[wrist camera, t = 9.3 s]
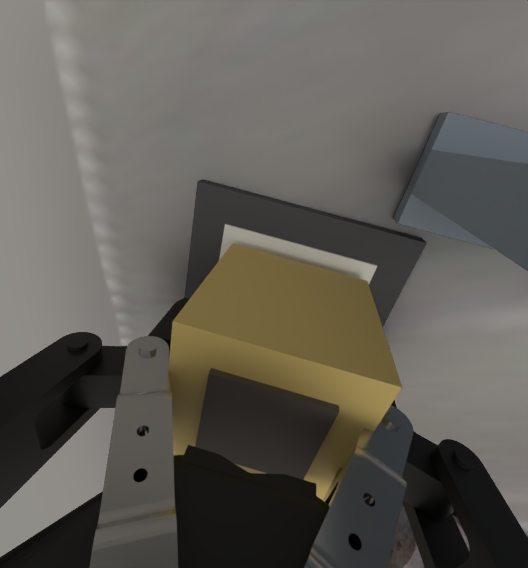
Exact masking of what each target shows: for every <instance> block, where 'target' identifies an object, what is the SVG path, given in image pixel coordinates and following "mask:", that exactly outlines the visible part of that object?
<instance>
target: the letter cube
mask: <svg viewBox="0 0 528 568" xmlns="http://www.w3.org/2000/svg"><path fill="white" fill-rule="evenodd" d="M168 370H169V377H170V390H171V393H172V423H173V455H184V453H185V451H186V448H187V446H188V445H191V446H194V447H197V448H201V449H204V450H207V451H211V452H214V453H217V454H220V455H221V456H223V457H225V458H226V459H228V460H229V461H231V462H233V463H234V464H236V465H237V466H239V467H241V468H242V469H244V470H245V471H247V472H249V473H263V474H286V475H289V476H293V477H296V478H299V479H303V480H306V481H309V482H312V483H316V496H317V497H319V498H320V499H322V500H323V498H324V497H325V495H326V493H327V491H328V489H329V486H330V484H331V482H332V480H333V478H334V476H335V474H336V473H337V471H338V469H339V468H340V467H341V468H343V467H344V465H345V463H346V462H347V460H348V458H349V456H350V454H351V451H352V449H353V447H354V445H355V443H356V441H357V439H358V437H359V435H360V433H361V432H362V430H363V429H364V428H366V429H369V430H372V431H375V429H376V427H377V426H378V424H379V423H380V421H381V420H382V418H383V417H384V415H385V414H386V412H387V410H388V409H389V407H390V406H391V404H392V403H393V401H394V400H395V398H396V397H397V395H398V394H399V392H400V390H401V389H402V385H401V382H400V379H399V376H398V373H397V370H396V367H395V364H394V361H393V358H392V355H391V351H390V348H389V345H388V342H387V339H386V336H385V333H384V330H383V327H382V324H381V321H380V318H379V315H378V312H377V309H376V306H375V303H374V300H373V297H372V294H371V291H370V288H369V284H368V281H366V280H363V279H359V278H355V277H352V276H348V275H345V274H341V273H337V272H334V271H330V270H326V269H323V268H319V267H316V266H312V265H308V264H305V263H301V262H297V261H294V260H290V259H287V258H283V257H279V256H276V255H272V254H269V253H265V252H261V251H258V250H254V249H250V248H247V247H243V246H240V245H236V244H232V245H231V246H230V247H229V248H228V250H227V251H226V252H225V254H224V255H223V256H222V258H221V259H220V260H219V262H218V263H217V264H216V265H215V267H214V268H213V269H212V271H211V272H210V273H209V275H208V276H207V277H206V278H205V280H204V281H203V282H202V284H201V285H200V286H199V288H198V289H197V290H196V291H195V293H194V294H193V295H192V297H191V298H190V299H189V301H188V302H187V303H186V304H185V306H184V307H183V308H182V310H181V311H180V312H179V314H178V315H177V316H176V318H175V319H174V320H173V323H172V334H171V345H170V355H169V366H168Z"/></svg>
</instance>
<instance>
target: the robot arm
mask: <svg viewBox="0 0 528 568" xmlns="http://www.w3.org/2000/svg"><path fill="white" fill-rule="evenodd" d="M188 301H189V299H188V298H184V299H182V300H180V301H178V302H176V303H175V304H174V305H173V306H172V308H171V309H170V311H168V312H167V314H166V315H165V316H164V317H163V318H162V320H161V321H160V322H159V323H158V324H157V326H156V327H155V328H154V329H153V330H152V332H151V333H150V334H149V335H148V336H144V337H140V338H137V339H135V340H133V341H132V342H130V343H129V345H128V346H117V347H116V346H102V341H101V339H100V338H99V337H98V336H97V335H95V334H92V333H88V332H77V333H72V334H69V335H66V336H64V337H62V338H60V339H59V340H57V341H56V342H54V343H53V344H51V345H50V346H48V347H46V348H45V349H43V350H42V351H40V352H39V353H37V354H35V355H34V356H32V357H31V358H29V359H28V360H26V361H24V362H23V363H21V364H20V365H18V366H17V367H15V368H14V369H12V370H10V371H9V372H7V373H6V374H4V375H3V376H1V377H0V508H1V507H2V506H3V505H4V504H5V503H6V502H7V501H8V500H9V499H10V498H11V497H12V496H13V495H14V494H15V493H16V492H17V491H18V490H19V489H20V488H21V487H22V486H23V485H24V484H25V483H26V482H27V481H28V480H29V479H30V478H31V477H32V476H33V475H34V474H35V473H36V472H37V471H38V470H39V469H40V468H41V467H42V466H43V465H44V464H45V463H46V462H47V461H48V460H49V459H50V458H51V457H52V456H53V455H54V454H55V453H56V452H57V451H58V450H59V449H60V448H61V447H62V446H63V445H64V444H65V443H66V442H67V441H68V440H69V439H70V438H71V437H72V436H73V435H74V434H75V433H76V432H77V431H78V430H79V429H80V428H81V427H82V426H83V425H84V424H85V423H86V422H87V421H88V420H89V419H90V418H91V417H92V416H93V415H94V414H95V413H96V412H97V411H98V410H99V409H100V408H115V414H114V421H113V428H112V434H111V441H110V448H109V454H108V461H107V468H106V474H105V481H104V488H103V491H102V492H101V493H99V494H98V495H96V496H95V497H93V498H92V499H90V500H88V501H87V502H85V503H84V504H82V505H81V506H79V507H78V508H76V509H75V510H73V511H71V512H70V513H68V514H67V515H65V516H64V517H62V518H61V519H59V520H58V521H56V522H54V523H53V524H51V525H50V526H48V527H47V528H45V529H44V530H42V531H41V532H39V533H37V534H36V535H34V536H33V537H31V538H30V539H28V540H27V541H25V542H23V543H22V544H20V545H19V546H17V547H16V548H14V549H12V550H11V551H9V552H8V553H6V554H5V555H3V556H2V557H0V568H387V567H388V563H389V558H390V554H391V550H392V546H393V541H394V537H395V533H396V529H397V524H398V520H399V516H400V512H401V508H402V503H403V505H404V508H405V511H406V514H407V517H408V520H409V523H410V526H411V529H412V532H413V535H414V538H415V541H416V544H417V547H418V550H419V553H420V555H421V558H422V561H423V564H424V567H425V568H528V537H527V536H526V534H525V533H524V531H523V529H522V528H521V526H520V524H519V523H518V521H517V519H516V518H515V516H514V515H513V513H512V511H511V510H510V508H509V506H508V505H507V503H506V501H505V500H504V498H503V496H502V495H501V493H500V492H499V490H498V488H497V487H496V485H495V483H494V482H493V480H492V478H491V477H490V475H489V474H488V472H487V470H486V469H485V467H484V465H483V464H482V462H481V461H480V459H479V458H478V457H477V456H476V455H475V454H474V453H473V452H472V451H471V450H470V449H469V448H467V447H466V446H464V445H463V444H461V443H459V442H457V441H454V440H450V439H446V440H443V441H441V442H440V443H439V445H436V444H434V443H432V442H430V441H429V440H427V439H425V438H423V437H422V436H420V435H418V434H417V433H415V432H414V431H413V427H412V424H411V422H410V421H409V419H408V418H407V417H406V416H405V415H404V414H403V413H402V412H401V411H400V410H398V409H397V408H396V404H395V401H393V403H392V404H391V406H390V407H389V409H388V410H387V412H386V414H385V415H384V417H383V418H382V420H381V421H380V423H379V424H378V426H377V427H376V429H375V431H372V430H369V429H366V428H364V429H363V430H362V432H361V433H360V435H359V437H358V439H357V441H356V443H355V445H354V447H353V449H352V451H351V454H350V456H349V458H348V460H347V462H346V463H345V465H344V467H343V468H341V467H340V468H339V469H338V471H337V473H336V474H335V476H334V478H333V480H332V482H331V484H330V486H329V489H328V491H327V493H326V495H325V497H324V498H323V500H322V499H320V498H319V497H317V496H316V483H312V482H309V481H306V480H303V479H299V478H296V477H293V476H289V475H286V474H263V473H249V472H247V471H245V470H244V469H242V468H241V467H239V466H237V465H236V464H234V463H233V462H231V461H229V460H228V459H226V458H225V457H223V456H221V455H220V454H217V453H214V452H211V451H207V450H204V449H201V448H197V447H194V446H191V445H188V446H187V448H186V451H185V453H184V455H173V423H172V393H171V390H170V377H169V370H168V366H169V355H170V345H171V334H172V323H173V320H174V319H175V318H176V316H177V315H178V314H179V312H180V311H181V310H182V308H183V307H184V306H185V304H186V303H187V302H188ZM454 511H455V514H456V516H457V518H458V520H459V522H460V524H461V527H462V529H463V531H464V533H465V535H466V537H467V540H468V543H469V548H470V552H469V550H468V547H467V545H466V543H465V541H464V539H463V536H462V534H461V532H460V530H459V528H458V526H457V523H456V521H455V519H454V517H453V515H452V513H453V512H454Z"/></svg>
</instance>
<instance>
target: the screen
mask: <svg viewBox="0 0 528 568" xmlns="http://www.w3.org/2000/svg"><path fill="white" fill-rule="evenodd" d="M393 219H394V220H395V221H396V222H397V223H398V224H401V225H405V226H409V227H413V228H416V229H420V230H424V231H428V232H431V233H435V234H439V235H442V236H446V237H450V238H454V239H457V240H461V241H465V242H469V243H472V244H476V245H480V246H484V247H487V248H491V249H495V250H497V251H498V252H500V253H501V254H503V255H504V256H506V257H508V258H509V259H511V260H512V261H514V262H515V263H517V264H518V265H520V266H521V267H523V268H524V269H526V270H527V271H528V132H526V131H522V130H518V129H514V128H510V127H506V126H502V125H498V124H494V123H490V122H486V121H482V120H478V119H474V118H470V117H467V116H463V115H459V114H455V113H451V112H446V113H440V115H439V117H438V119H437V122H436V124H435V126H434V128H433V131H432V133H431V135H430V137H429V140H428V142H427V144H426V146H425V149H424V151H423V153H422V155H421V157H420V160H419V162H418V164H417V166H416V169H415V171H414V173H413V175H412V178H411V180H410V182H409V184H408V187H407V189H406V191H405V193H404V196H403V198H402V200H401V202H400V205H399V207H398V209H397V211H396V213H395V216H394V218H393Z"/></svg>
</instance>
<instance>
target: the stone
mask: <svg viewBox="0 0 528 568" xmlns="http://www.w3.org/2000/svg"><path fill="white" fill-rule="evenodd" d="M453 517H454V519H455V521H456V523H457V526H458V528H459V530H460V532H461V534H462V536H463V539H464V541H465V543H466V545H467V547H468V550H469V552H470V548H469V543H468V540H467V537H466V535H465V533H464V531H463V529H462V527H461V524H460V522H459V520H458V518H457V517H455V516H454V515H453ZM387 568H425V567H424V564H423V561H422V558H421V555H420V553H419V550H418V547H417V544H416V541H415V538H414V535H413V532H412V529H411V526H410V523H409V520H408V517H407V514H406V511H405V508H404V505H403V504H402V508H401V512H400V516H399V520H398V524H397V529H396V533H395V537H394V541H393V546H392V550H391V554H390V558H389V563H388V567H387Z"/></svg>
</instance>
